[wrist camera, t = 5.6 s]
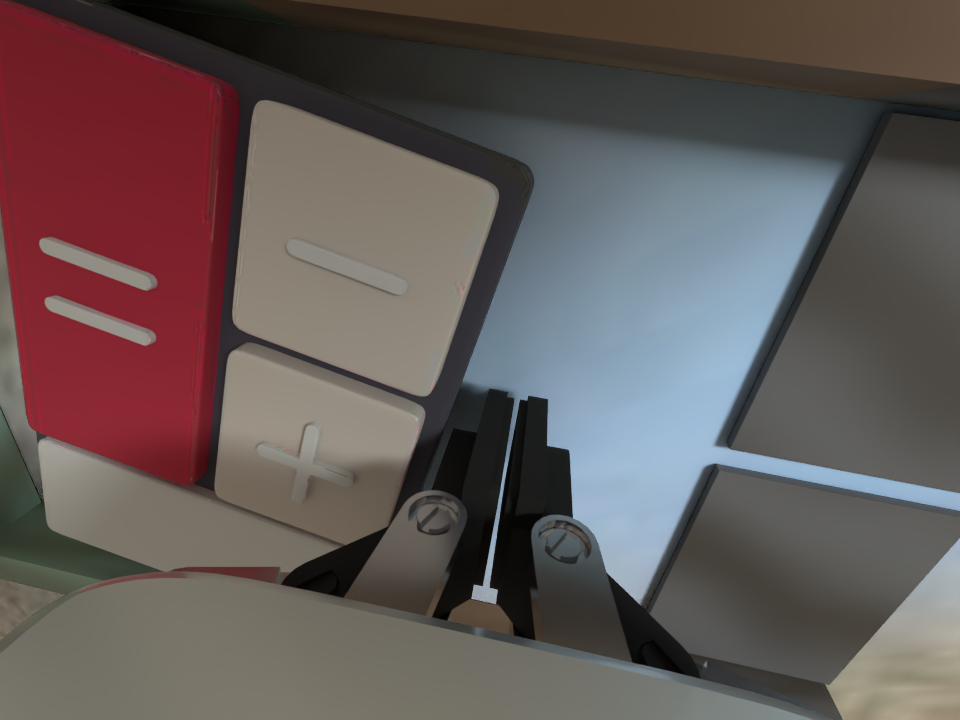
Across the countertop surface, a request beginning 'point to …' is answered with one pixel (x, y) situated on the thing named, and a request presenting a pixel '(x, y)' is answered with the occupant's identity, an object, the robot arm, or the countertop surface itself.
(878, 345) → the channel
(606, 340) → the countertop surface
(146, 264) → the calculator
